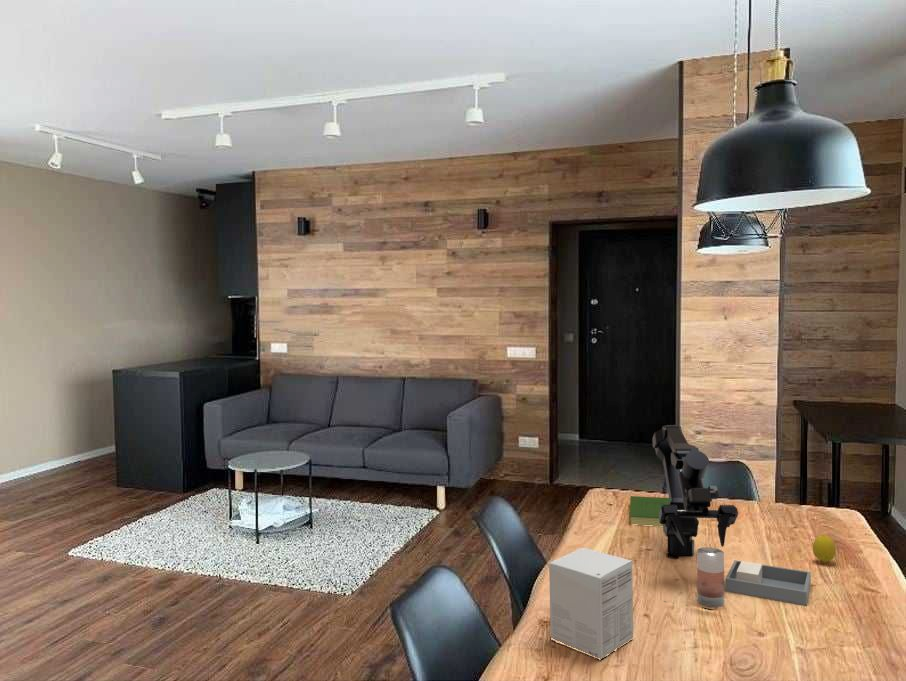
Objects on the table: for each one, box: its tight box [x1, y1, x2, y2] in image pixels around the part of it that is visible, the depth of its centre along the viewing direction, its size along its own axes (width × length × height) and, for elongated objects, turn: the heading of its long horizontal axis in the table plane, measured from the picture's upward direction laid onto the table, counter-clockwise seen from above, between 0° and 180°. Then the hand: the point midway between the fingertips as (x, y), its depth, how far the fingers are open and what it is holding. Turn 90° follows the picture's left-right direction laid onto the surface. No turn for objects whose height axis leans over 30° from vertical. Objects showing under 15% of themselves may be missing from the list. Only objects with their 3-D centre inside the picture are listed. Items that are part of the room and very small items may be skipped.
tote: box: [724, 560, 812, 606], centre depth 174 cm, size 18×14×4 cm
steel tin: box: [696, 546, 725, 611], centre depth 167 cm, size 6×6×13 cm
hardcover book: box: [629, 495, 670, 526], centre depth 238 cm, size 25×19×4 cm
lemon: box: [812, 534, 836, 564], centre depth 192 cm, size 6×6×8 cm
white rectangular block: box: [737, 560, 763, 583], centre depth 177 cm, size 5×8×4 cm, turn 149°
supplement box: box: [548, 547, 634, 659], centre depth 151 cm, size 13×13×18 cm
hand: (703, 545), depth 173 cm, fingers open, 9 cm apart
